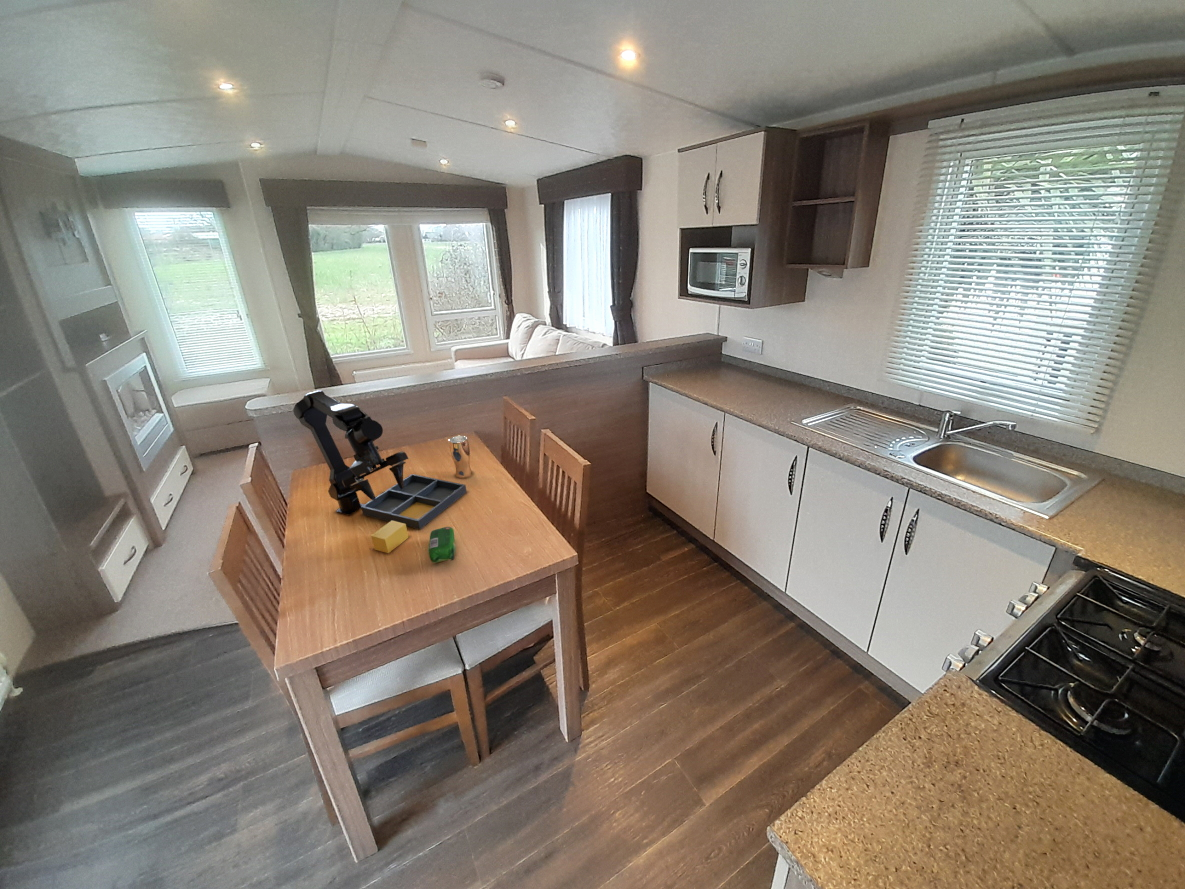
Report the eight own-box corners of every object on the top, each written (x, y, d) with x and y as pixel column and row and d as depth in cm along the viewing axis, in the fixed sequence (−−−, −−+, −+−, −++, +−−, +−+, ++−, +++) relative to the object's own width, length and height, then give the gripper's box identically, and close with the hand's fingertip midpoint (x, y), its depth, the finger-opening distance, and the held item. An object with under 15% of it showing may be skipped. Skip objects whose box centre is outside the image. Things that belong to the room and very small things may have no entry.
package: (374, 549, 142) (370, 535, 140) (395, 533, 149) (391, 520, 147) (388, 553, 140) (384, 539, 138) (408, 537, 147) (405, 523, 145)
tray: (362, 514, 159) (360, 506, 158) (413, 481, 180) (411, 473, 178) (420, 529, 151) (418, 521, 149) (466, 492, 171) (465, 484, 170)
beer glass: (477, 472, 184) (471, 437, 178) (463, 480, 179) (457, 444, 172) (464, 468, 187) (458, 433, 181) (450, 476, 182) (444, 440, 176)
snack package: (430, 571, 132) (426, 556, 130) (432, 539, 146) (429, 524, 143) (456, 567, 133) (453, 552, 131) (455, 535, 147) (453, 521, 145)
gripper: (320, 465, 132) (346, 514, 134) (379, 437, 131) (405, 488, 132) (342, 458, 143) (366, 504, 145) (396, 433, 142) (420, 480, 143)
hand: (388, 494), depth 141 cm, fingers open, 9 cm apart
